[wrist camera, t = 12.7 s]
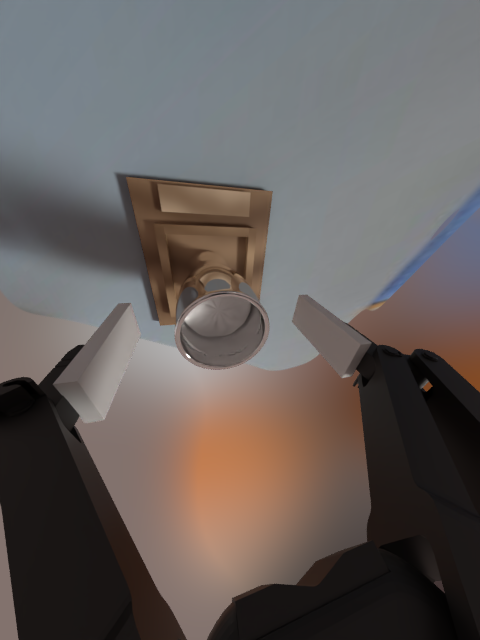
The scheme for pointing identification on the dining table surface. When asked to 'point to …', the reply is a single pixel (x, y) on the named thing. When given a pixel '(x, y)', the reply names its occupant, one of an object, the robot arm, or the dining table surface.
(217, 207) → the tray
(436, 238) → the dining table surface
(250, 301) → the beer glass
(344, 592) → the robot arm
